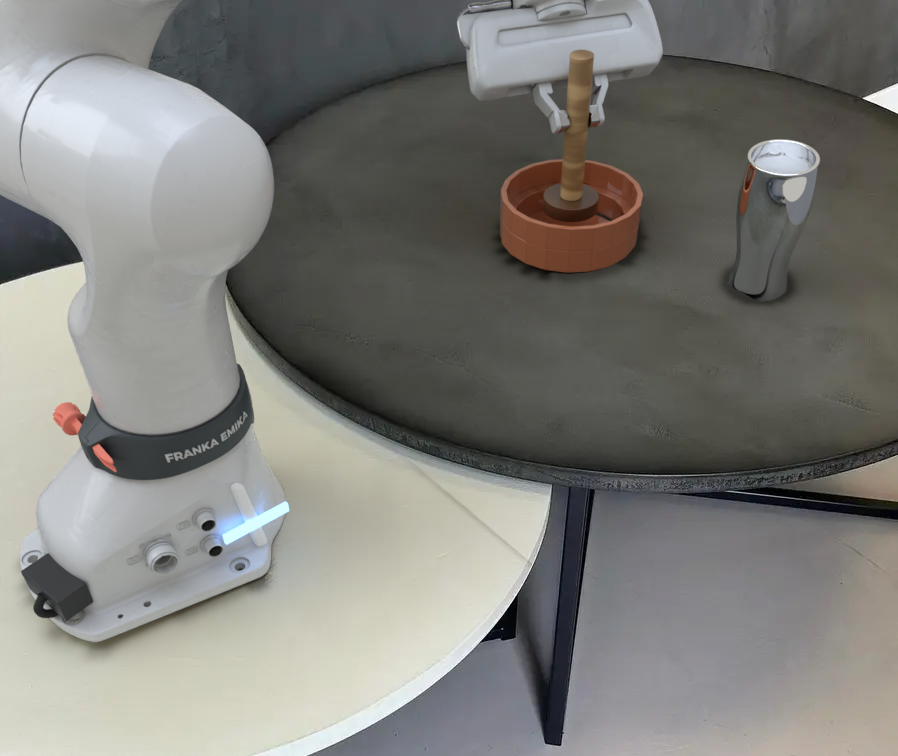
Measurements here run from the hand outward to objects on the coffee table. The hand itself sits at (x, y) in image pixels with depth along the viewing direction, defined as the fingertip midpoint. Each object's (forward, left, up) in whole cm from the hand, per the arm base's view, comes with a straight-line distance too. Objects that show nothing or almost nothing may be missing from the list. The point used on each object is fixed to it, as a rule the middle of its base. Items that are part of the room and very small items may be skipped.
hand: (579, 127), depth 101 cm
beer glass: (+8, -19, -13) cm, 25 cm away
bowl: (0, +1, -13) cm, 13 cm away
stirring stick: (0, +1, -9) cm, 9 cm away
